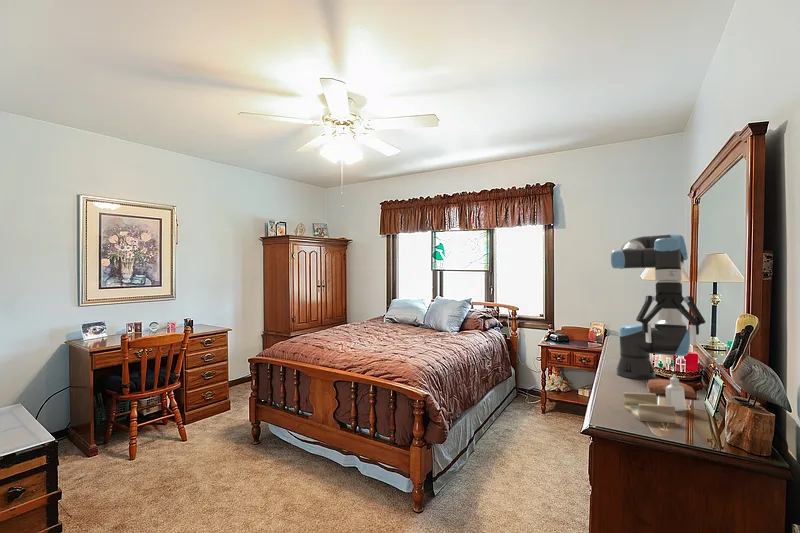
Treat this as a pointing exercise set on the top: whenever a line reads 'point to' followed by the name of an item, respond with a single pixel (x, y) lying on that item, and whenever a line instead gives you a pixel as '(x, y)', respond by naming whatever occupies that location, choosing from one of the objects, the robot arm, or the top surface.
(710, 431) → the top surface
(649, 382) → the ceramic shard
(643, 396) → the rack
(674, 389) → the eye dropper bottle
